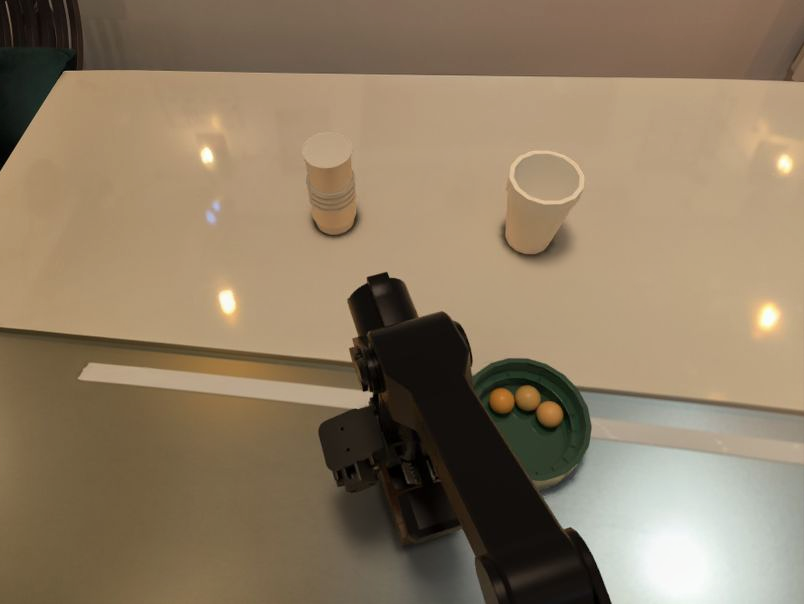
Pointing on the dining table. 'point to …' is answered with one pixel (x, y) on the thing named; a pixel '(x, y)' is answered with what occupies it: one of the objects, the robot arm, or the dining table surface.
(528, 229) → the foam cup
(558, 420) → the bead
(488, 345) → the dining table surface
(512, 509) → the robot arm
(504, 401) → the bead
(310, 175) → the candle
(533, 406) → the bead
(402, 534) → the rack
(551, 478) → the bowl
